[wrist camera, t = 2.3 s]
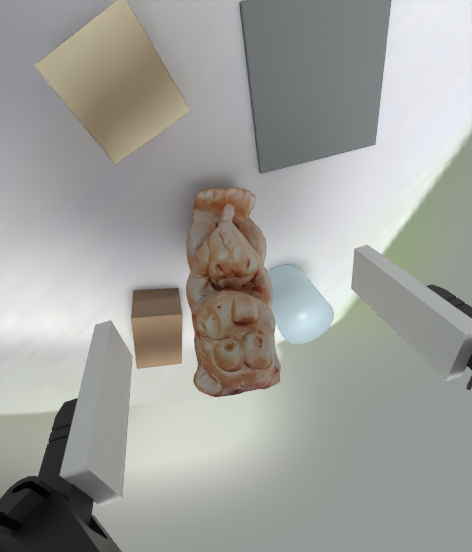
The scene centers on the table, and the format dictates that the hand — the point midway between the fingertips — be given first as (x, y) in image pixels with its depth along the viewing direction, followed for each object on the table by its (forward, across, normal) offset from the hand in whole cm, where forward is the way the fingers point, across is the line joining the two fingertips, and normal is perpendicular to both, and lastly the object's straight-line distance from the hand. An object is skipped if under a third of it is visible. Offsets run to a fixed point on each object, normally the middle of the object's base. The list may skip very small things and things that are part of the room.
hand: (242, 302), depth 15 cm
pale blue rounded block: (+11, +6, -9) cm, 15 cm away
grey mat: (+11, +10, +8) cm, 17 cm away
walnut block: (+11, -7, -8) cm, 15 cm away
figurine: (+11, 0, 0) cm, 11 cm away
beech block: (+11, -3, +10) cm, 15 cm away
